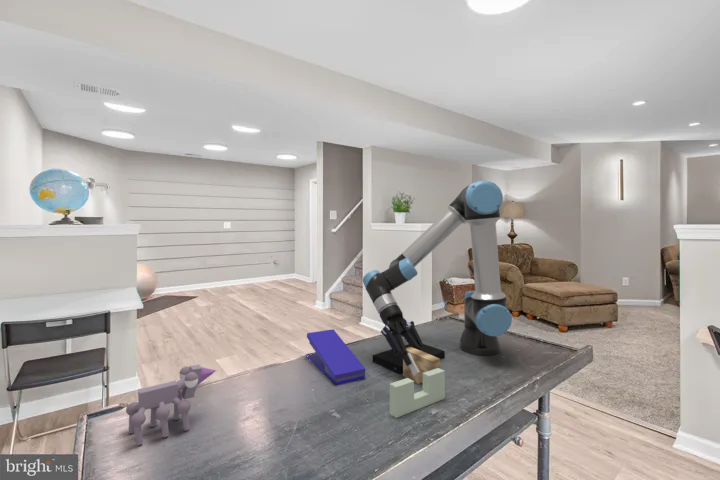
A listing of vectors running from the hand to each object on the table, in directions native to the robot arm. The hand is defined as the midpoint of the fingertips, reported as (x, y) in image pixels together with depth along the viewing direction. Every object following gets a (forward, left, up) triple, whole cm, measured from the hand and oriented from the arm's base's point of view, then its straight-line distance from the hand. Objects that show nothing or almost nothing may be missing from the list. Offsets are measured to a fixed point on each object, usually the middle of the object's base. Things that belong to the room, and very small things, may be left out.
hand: (421, 372), depth 111 cm
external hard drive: (-9, -16, -4) cm, 19 cm away
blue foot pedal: (+17, -26, -4) cm, 32 cm away
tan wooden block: (0, 0, -3) cm, 3 cm away
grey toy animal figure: (+67, -17, -3) cm, 69 cm away
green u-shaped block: (+11, +10, -3) cm, 15 cm away
